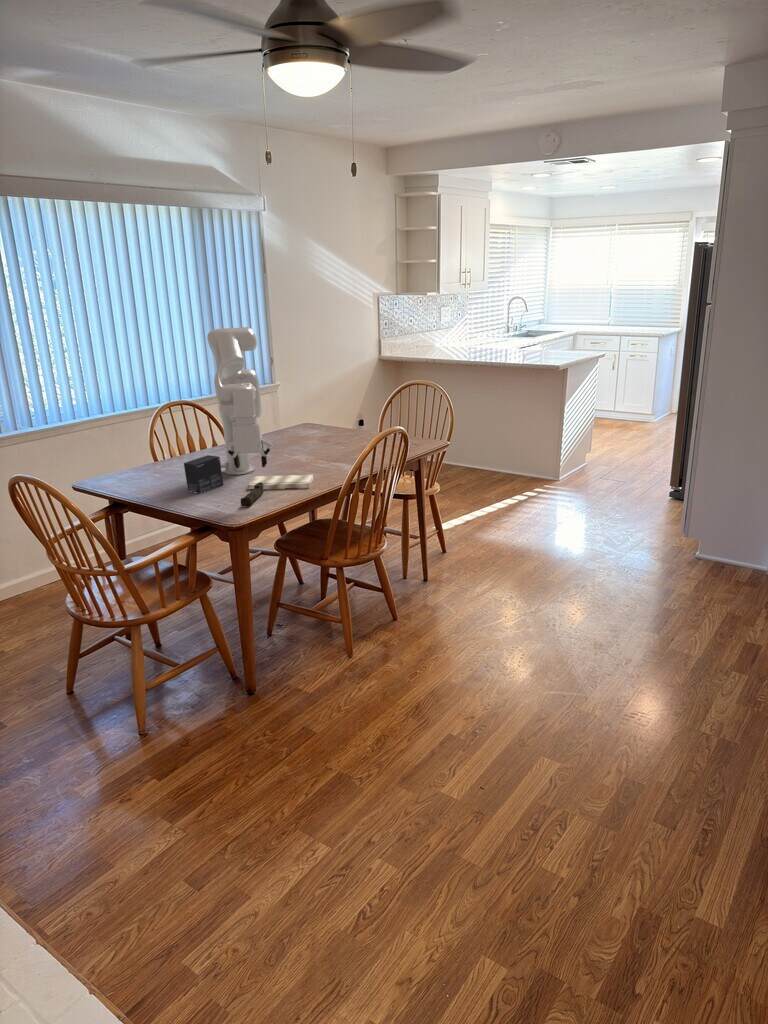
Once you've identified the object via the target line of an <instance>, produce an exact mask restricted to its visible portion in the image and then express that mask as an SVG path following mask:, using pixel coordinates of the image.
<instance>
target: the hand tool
mask: <svg viewBox="0 0 768 1024" xmlns="http://www.w3.org/2000/svg"><path fill="white" fill-rule="evenodd" d="M264 490H265V489H263V483H262V482H259V483H257V484H256V485H255V486H254V489H253V490H250V492H249V493H247V494H246V495H245V496H244V497H242V498H240V506H241V507H242V506H247V507H246V508H249V507H248V506H250V507H252V504H253V503H254V502H255V501H256V500H257V499H258V498H259V497H262V496H263V495H264ZM262 494H263V495H262ZM261 495H262V496H261Z"/></svg>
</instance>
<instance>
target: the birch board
mask: <svg viewBox="0 0 768 1024" xmlns="http://www.w3.org/2000/svg"><path fill="white" fill-rule="evenodd" d="M312 481H313V482H314V474H293V475H287V474H286V475H266V476H265V475H262V476H260V475H257V476H254V477H253V478H252V479H251V480H250V482H249V483H248V484H247V489H249V490H248V491H251V490H250V489H254V486H255V485H256V484H257V483H259V482H262V483H263V489H264V490H286V489H285V488H297V489H310V488H311V486H312V484H313V482H312ZM311 483H312V484H311ZM310 485H311V486H310Z"/></svg>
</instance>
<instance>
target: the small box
mask: <svg viewBox="0 0 768 1024" xmlns="http://www.w3.org/2000/svg"><path fill="white" fill-rule="evenodd" d="M220 462H221V459H220V456H216V455H209V454H208V455H205V456H201V457H198V458H194V459H192V460H189V461H186V462H184V463H183V468H184V473H185V480H186V485H187V486H186V487H187V492H188V491H192V492H197V493H196V494H198V493H201V492H203V493H205V492H204V491H206V492H208V491H207V490H209V489H211V490H213V489H212V488H214V489H216V488H215V487H217V488H219V487H222V486H223V485H224V480H223V471H222V468H221V465H220ZM221 485H222V486H221ZM218 486H219V487H218ZM209 491H210V490H209ZM192 492H191V493H192ZM201 494H202V493H201Z"/></svg>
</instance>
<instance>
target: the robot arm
mask: <svg viewBox="0 0 768 1024" xmlns="http://www.w3.org/2000/svg"><path fill="white" fill-rule="evenodd" d="M207 342H208V343H207V344H208V346H209V348H210V350H211V352H212V355H213V356H214V358H215V362H216V368H217V370H216V372H215V374H214V380H213V383H214V384H213V385H214V389H215V395H216V399H217V402H218V412H219V415H220V419H221V424H222V428H223V429H222V430H223V437H224V445H225V446H224V448H225V454H226V461H224V462H223V461H222V462H221V461H220V465H221V469H223V468H225V469H224V474H227V475H230V476H231V475H233V476H237V475H239V476H240V475H245V474H250V473H252V472H254V471H255V466H254V465H252V464H251V457H250V454H251V453H252V454H253V453H259V454H260V455H261V457H260V459H261V466H262V468H265V467H266V466H267V464H268V462H267V461H268V459H267V455H268V454H269V453H270V451H271V450H272V447H273V445H274V444H273V443H272V442H270V441H269V440H265V439H263V435H262V431H261V427H260V424H259V423H258V422H257V419H258V418H260V417H261V415H262V409H263V408H262V399H261V391H260V390H261V389H260V382H259V378H258V377H259V376H258V374H257V373H256V371H255V370H253V369H251V368H250V369H249V368H247V369H244V368H245V366H246V360H245V355H244V352H249V351H250V352H251V351H252V352H253V351H255V350H256V348H257V343H258V341H257V337H256V334H255V332H254V330H253V329H252V328H250V327H248V326H247V327H246V326H245V327H243V326H241V327H227V328H226V327H225V328H223V327H222V328H215V329H211V330H210V331H208V333H207ZM264 445H265V446H267V448H266V450H265V449H264Z"/></svg>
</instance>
